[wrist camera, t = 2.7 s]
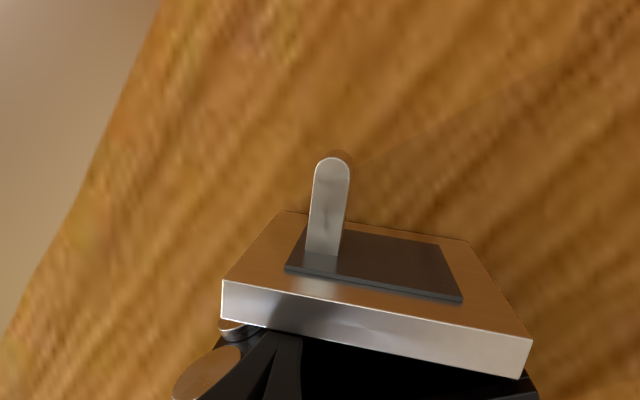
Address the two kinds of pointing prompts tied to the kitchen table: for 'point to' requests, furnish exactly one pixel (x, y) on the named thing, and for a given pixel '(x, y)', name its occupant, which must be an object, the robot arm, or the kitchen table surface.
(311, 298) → the door
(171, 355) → the kitchen table surface
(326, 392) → the microwave
